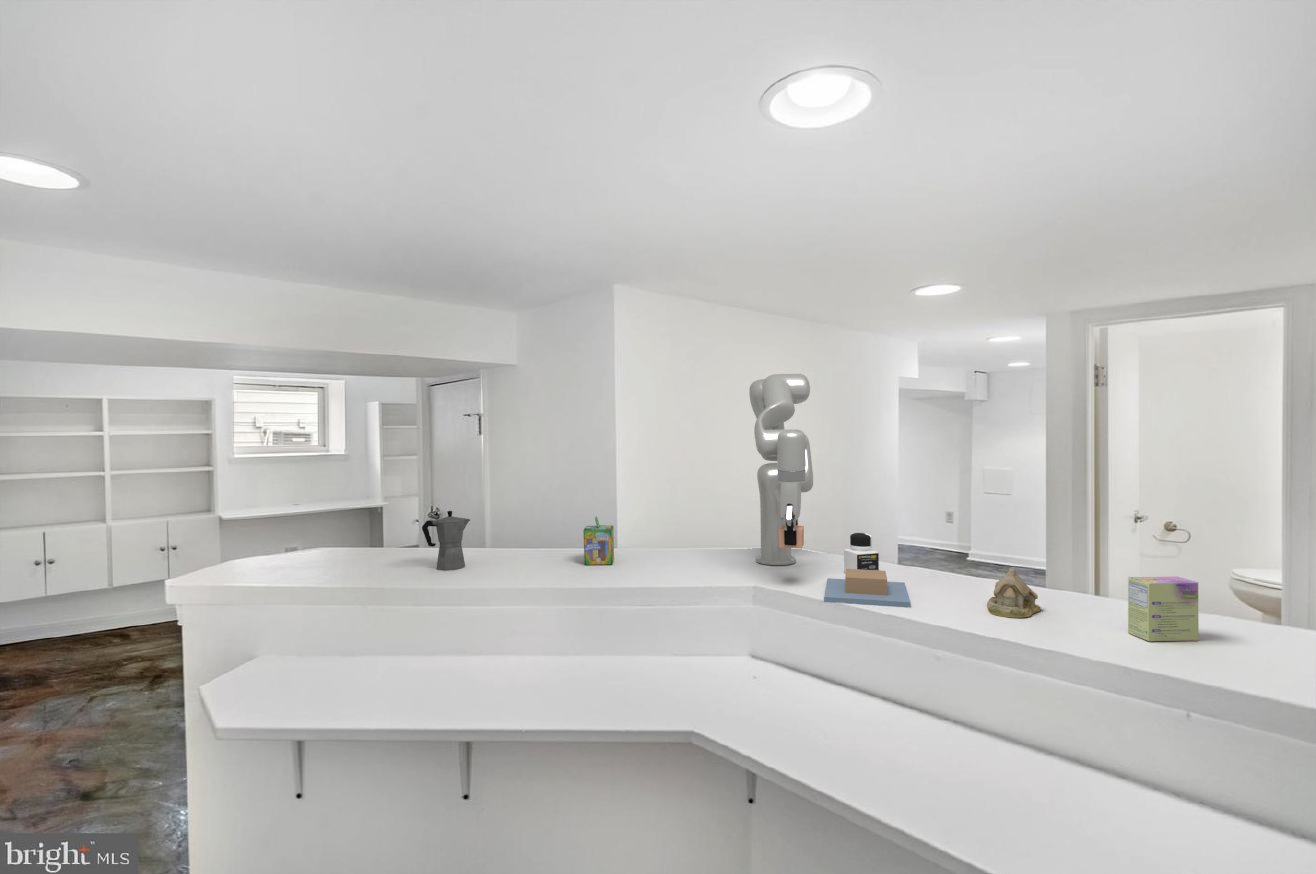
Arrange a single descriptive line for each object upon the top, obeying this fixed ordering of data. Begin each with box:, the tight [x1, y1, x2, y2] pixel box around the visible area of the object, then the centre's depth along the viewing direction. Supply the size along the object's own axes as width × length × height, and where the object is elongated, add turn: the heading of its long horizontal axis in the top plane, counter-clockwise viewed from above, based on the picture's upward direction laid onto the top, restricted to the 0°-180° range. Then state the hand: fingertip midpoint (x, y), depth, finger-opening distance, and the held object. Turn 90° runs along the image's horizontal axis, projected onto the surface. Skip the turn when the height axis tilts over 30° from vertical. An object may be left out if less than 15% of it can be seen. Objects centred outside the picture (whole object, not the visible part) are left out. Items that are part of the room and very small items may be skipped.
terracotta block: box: [779, 525, 805, 549], centre depth 177 cm, size 6×6×5 cm
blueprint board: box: [823, 569, 911, 608], centre depth 167 cm, size 20×20×5 cm
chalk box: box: [582, 515, 615, 566], centre depth 210 cm, size 9×9×15 cm
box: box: [1127, 576, 1200, 642], centre depth 132 cm, size 10×6×12 cm, turn 92°
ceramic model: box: [986, 567, 1042, 619], centre depth 152 cm, size 14×11×10 cm
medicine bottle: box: [843, 532, 880, 574], centre depth 189 cm, size 7×7×12 cm
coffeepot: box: [421, 510, 471, 571], centre depth 205 cm, size 15×9×18 cm, turn 129°
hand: (791, 541), depth 177 cm, fingers closed on terracotta block, 6 cm apart
